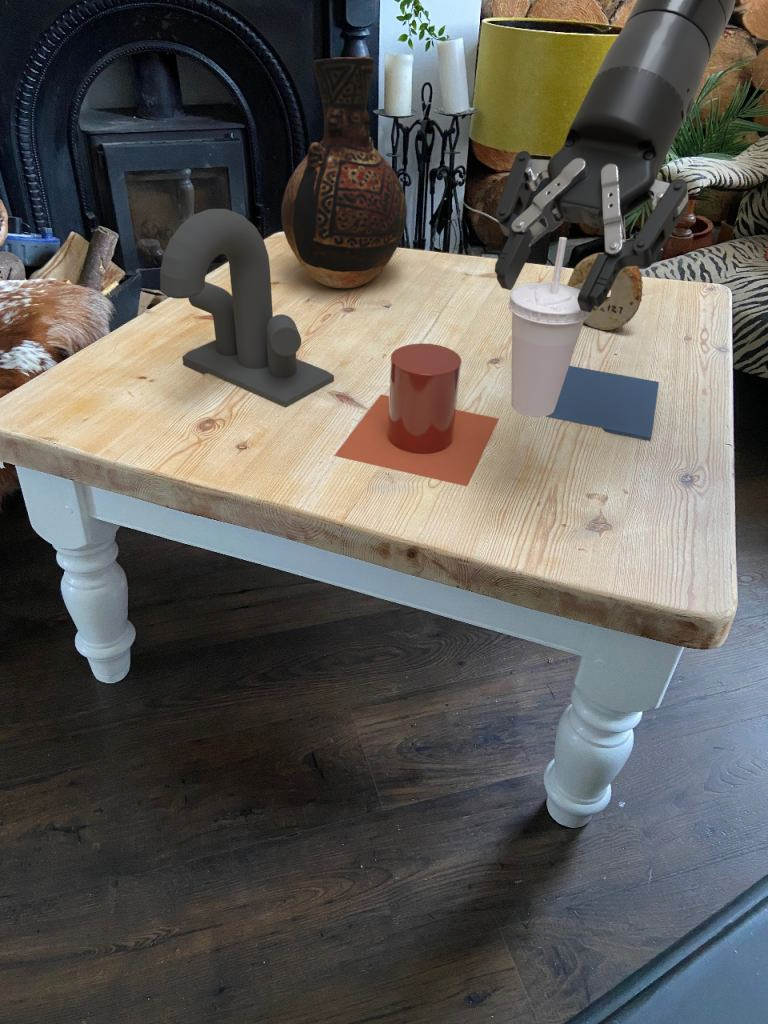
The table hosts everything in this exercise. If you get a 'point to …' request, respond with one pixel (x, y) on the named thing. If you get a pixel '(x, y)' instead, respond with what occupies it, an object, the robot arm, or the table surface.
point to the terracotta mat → (444, 465)
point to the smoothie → (543, 340)
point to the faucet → (238, 309)
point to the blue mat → (608, 402)
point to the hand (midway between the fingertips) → (542, 294)
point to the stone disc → (621, 299)
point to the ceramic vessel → (344, 186)
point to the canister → (423, 397)
